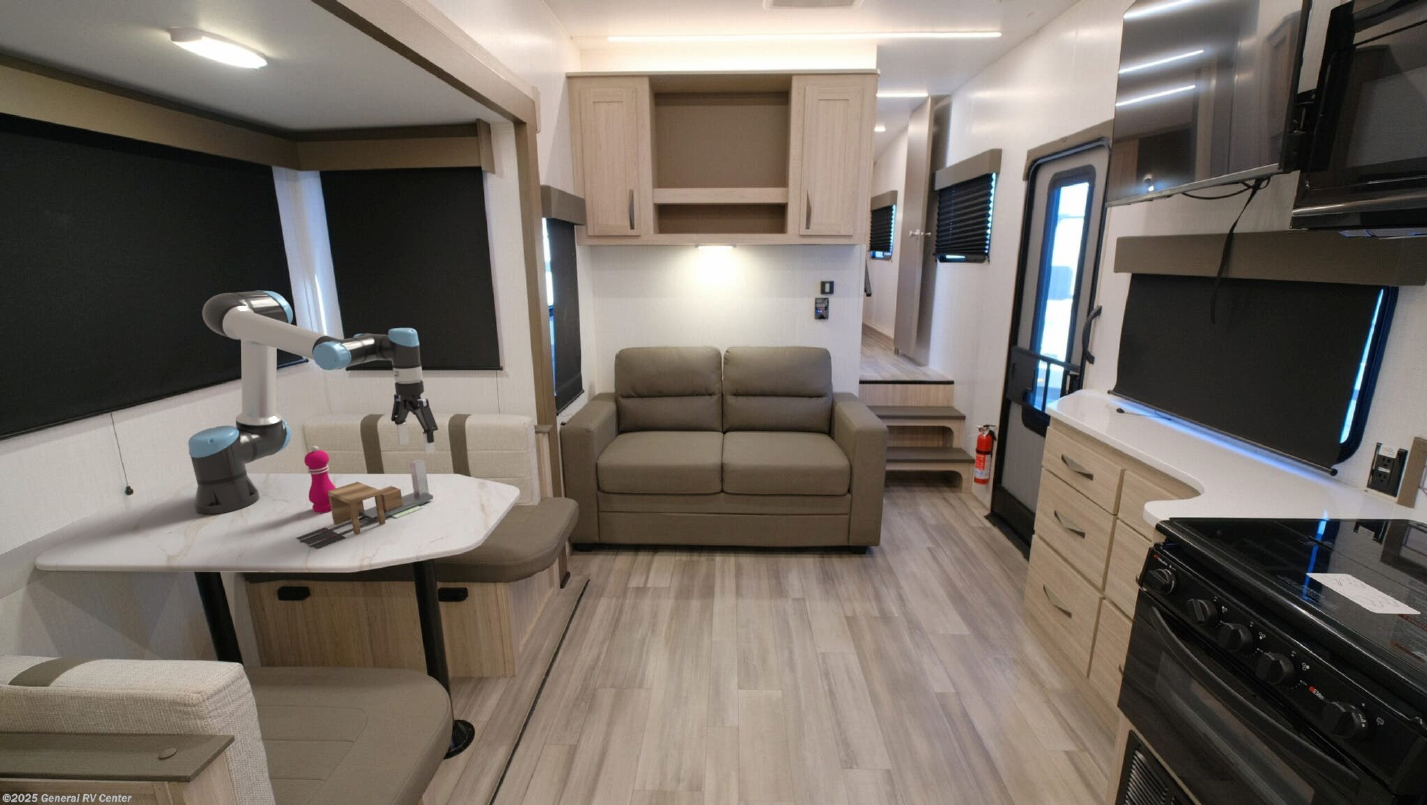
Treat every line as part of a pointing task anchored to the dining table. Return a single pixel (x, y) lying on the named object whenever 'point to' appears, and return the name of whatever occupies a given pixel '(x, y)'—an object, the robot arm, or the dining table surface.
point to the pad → (406, 511)
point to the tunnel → (353, 503)
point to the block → (391, 497)
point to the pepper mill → (319, 480)
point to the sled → (411, 499)
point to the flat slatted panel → (321, 538)
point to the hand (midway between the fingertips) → (416, 448)
